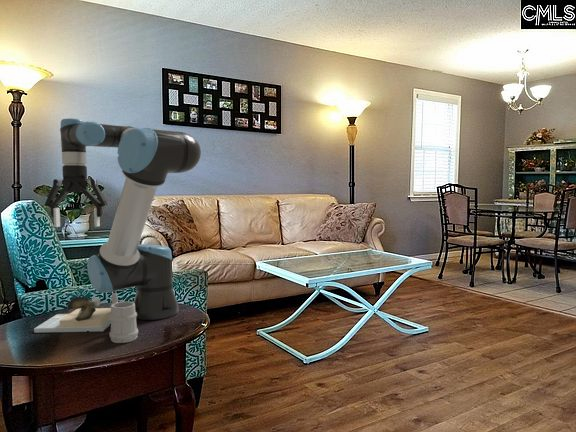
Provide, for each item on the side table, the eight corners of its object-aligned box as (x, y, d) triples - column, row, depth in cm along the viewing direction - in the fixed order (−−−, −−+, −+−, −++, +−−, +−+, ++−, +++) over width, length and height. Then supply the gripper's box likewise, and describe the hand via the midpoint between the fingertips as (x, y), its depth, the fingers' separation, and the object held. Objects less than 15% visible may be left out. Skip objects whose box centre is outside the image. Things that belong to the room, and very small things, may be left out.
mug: (116, 346, 118) (114, 302, 117) (99, 335, 127) (98, 294, 126) (143, 338, 124) (141, 297, 123) (125, 328, 132) (124, 289, 131)
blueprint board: (119, 316, 144) (118, 307, 144) (103, 331, 130) (102, 320, 130) (57, 317, 143) (56, 308, 143) (34, 332, 129) (33, 321, 129)
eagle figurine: (73, 308, 138) (60, 312, 129) (86, 289, 139) (74, 291, 130) (93, 321, 138) (82, 325, 129) (107, 302, 139) (96, 304, 130)
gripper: (115, 165, 154) (117, 225, 156) (43, 165, 153) (46, 225, 155) (107, 164, 147) (109, 227, 149) (31, 164, 146) (34, 228, 148)
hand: (77, 226), depth 152 cm, fingers open, 13 cm apart
